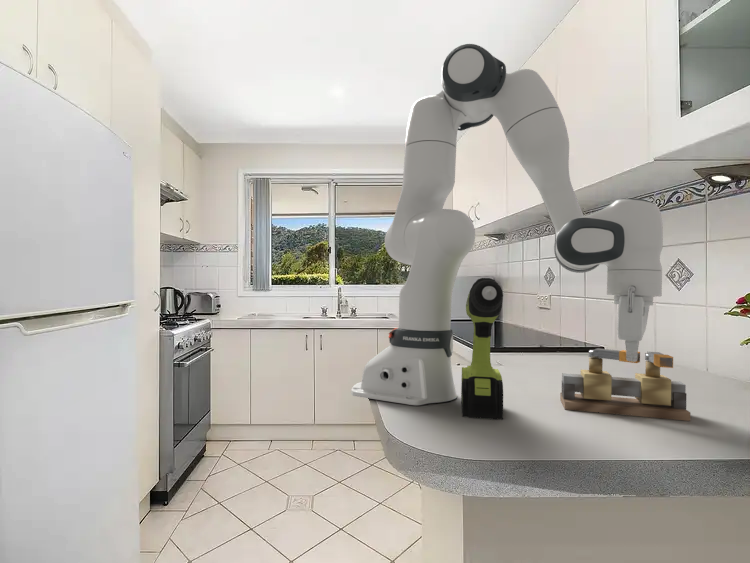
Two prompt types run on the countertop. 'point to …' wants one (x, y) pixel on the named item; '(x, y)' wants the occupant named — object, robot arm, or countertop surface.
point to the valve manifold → (625, 393)
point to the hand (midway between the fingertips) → (631, 361)
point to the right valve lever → (659, 359)
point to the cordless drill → (482, 354)
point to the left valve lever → (611, 354)
